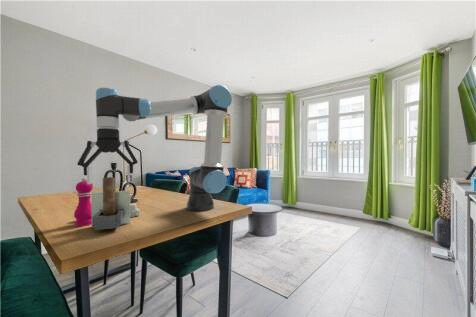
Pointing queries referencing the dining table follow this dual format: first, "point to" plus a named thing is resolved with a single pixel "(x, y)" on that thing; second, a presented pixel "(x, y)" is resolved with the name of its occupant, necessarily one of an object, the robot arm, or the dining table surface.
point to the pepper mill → (84, 203)
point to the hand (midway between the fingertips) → (109, 182)
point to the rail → (109, 196)
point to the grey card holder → (110, 220)
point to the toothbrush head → (132, 210)
